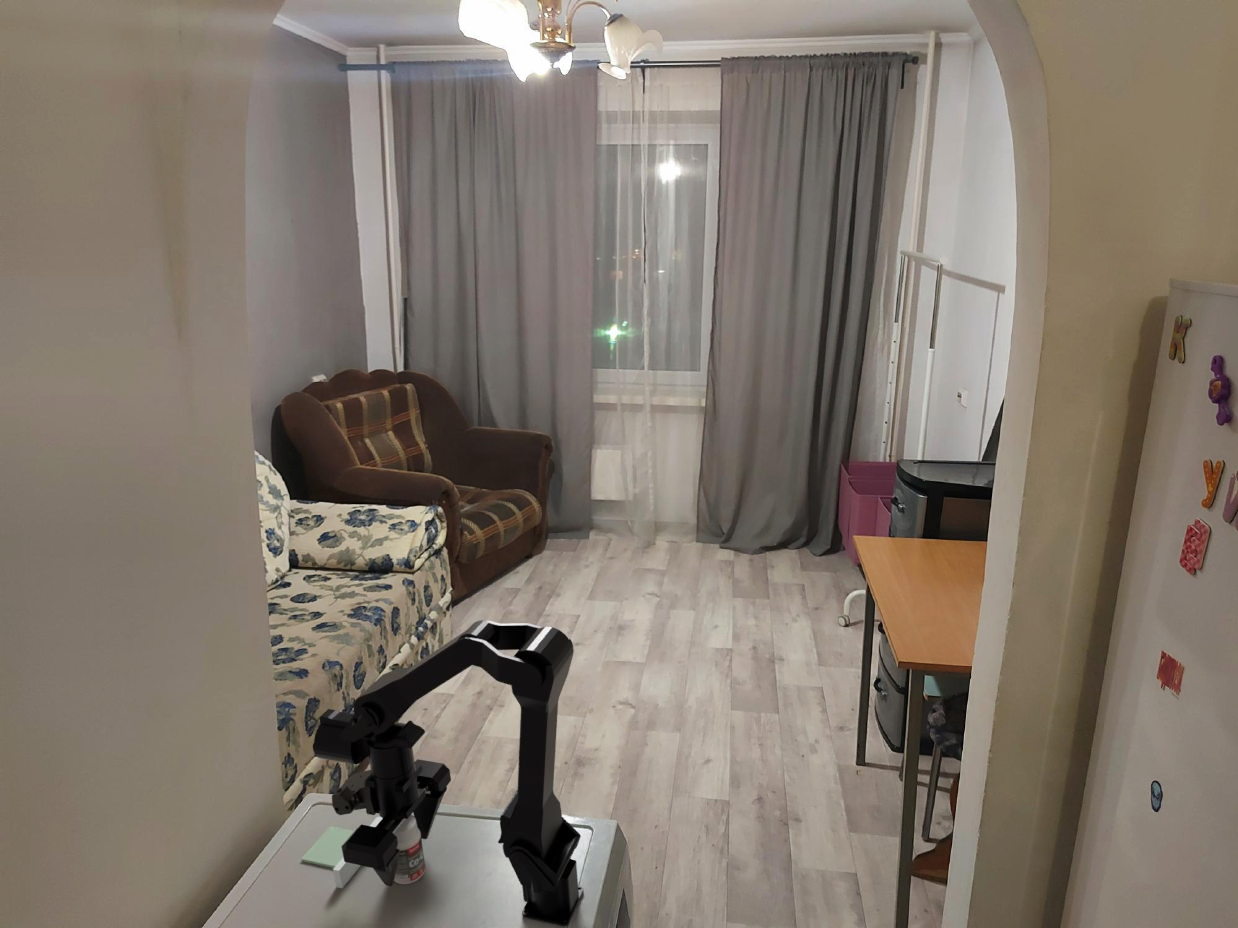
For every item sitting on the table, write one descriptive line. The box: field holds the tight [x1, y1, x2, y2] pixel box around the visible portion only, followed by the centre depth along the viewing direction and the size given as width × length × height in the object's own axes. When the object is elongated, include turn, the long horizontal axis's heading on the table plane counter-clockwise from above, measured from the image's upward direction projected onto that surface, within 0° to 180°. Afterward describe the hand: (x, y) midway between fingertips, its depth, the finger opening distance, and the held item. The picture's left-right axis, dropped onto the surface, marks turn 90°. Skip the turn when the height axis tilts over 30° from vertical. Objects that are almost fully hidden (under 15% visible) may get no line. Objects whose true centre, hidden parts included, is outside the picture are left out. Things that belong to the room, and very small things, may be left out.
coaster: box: [300, 825, 355, 869], centre depth 126 cm, size 7×7×1 cm
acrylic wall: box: [332, 815, 383, 889], centre depth 123 cm, size 1×11×3 cm, turn 162°
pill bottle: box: [394, 814, 426, 885], centre depth 119 cm, size 5×5×8 cm
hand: (407, 860), depth 120 cm, fingers open, 9 cm apart
